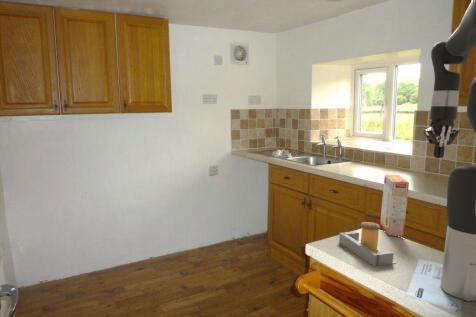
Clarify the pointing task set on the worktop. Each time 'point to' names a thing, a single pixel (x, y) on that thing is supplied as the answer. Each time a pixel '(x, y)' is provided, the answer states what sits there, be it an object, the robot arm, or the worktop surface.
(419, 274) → the worktop surface
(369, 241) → the orange cylinder
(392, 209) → the cracker box
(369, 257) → the duct tray
